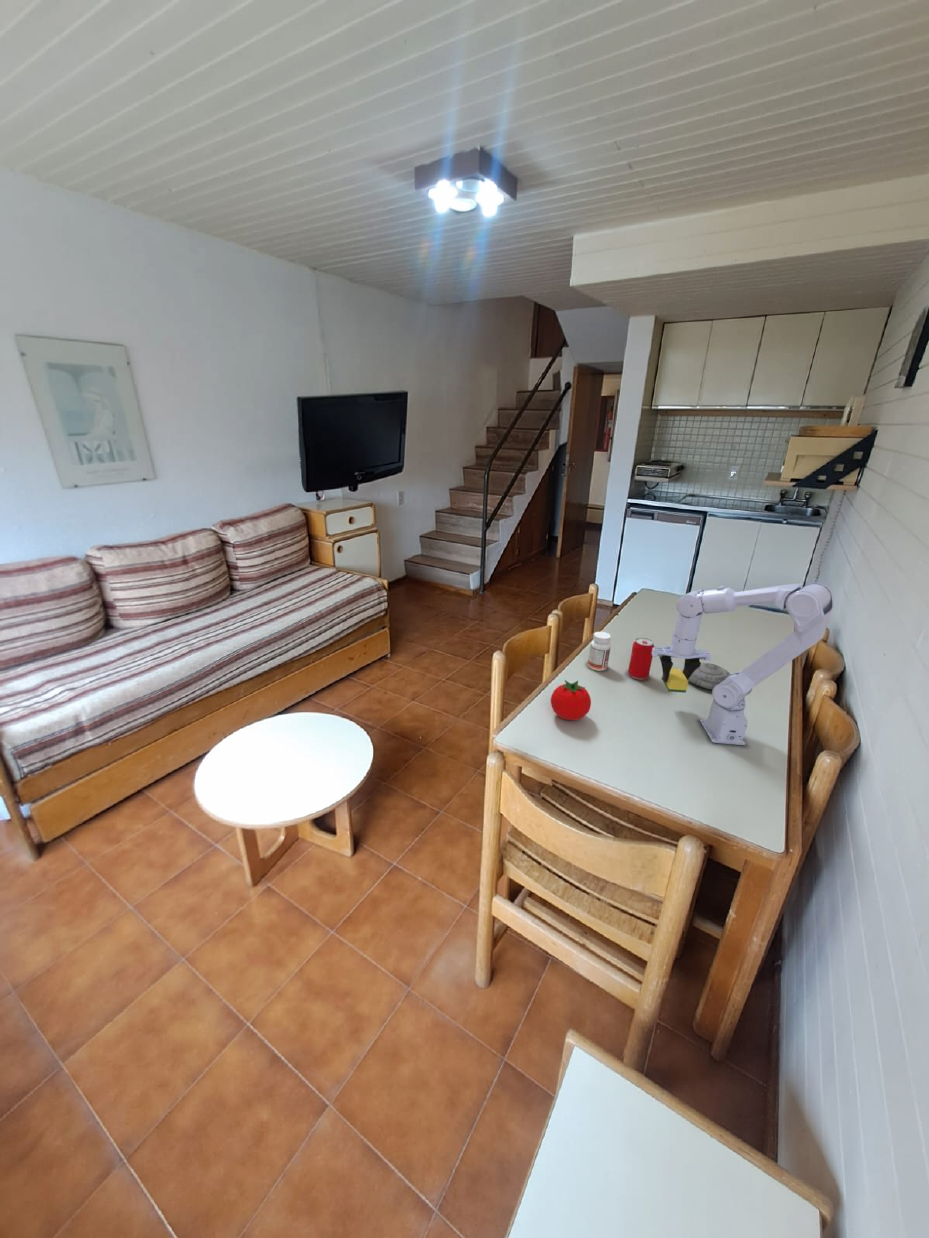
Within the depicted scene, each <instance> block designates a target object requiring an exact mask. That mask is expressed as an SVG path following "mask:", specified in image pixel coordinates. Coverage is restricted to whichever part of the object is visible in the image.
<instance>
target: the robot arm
mask: <svg viewBox="0 0 929 1238" xmlns="http://www.w3.org/2000/svg"><path fill="white" fill-rule="evenodd" d="M801 586H802V587H801ZM767 604H768V605H769V604H773V605H774V606H776V607H777V608H778V609H780V610H781V611H784V610H787V613H788V614H789V616H790V618H791V620H792V622H793V629H794V631H793V632H792V633H790V634H789V635H788V636H787V637H785V638H784V639H783V640H782V641H780V642H778V643H777V644H776V645H775V646H773V647H771V649H769V650H768V651H766V652H765V653H764V654H762V655H761V656H760V657H758V658H757V659H756V660H754V661H752V663H751V664H749V665H748V666H747V667H745V668H743V669H742V670H740V671H738V672H733V673H730V675H729V676H728V677H727V678H726V679H725V680H724V681H722V682H721V683H720V684H718V685H716V686H715V687H714V688H713V690H711V696H712V702H711V705H710V706H711V707H710V709H709V712H708V717H707V719H700V721H699V722H700V725H701V726H702V727H703V729H704V731H705V732H706V734H707V736H708V738H709V739H710V741H711V742H712V743H714V744H725V745H726V744H727V745H736V746H737V745H738V746H746V742H745V741H744V738H745V734H746V730H747V727H748V720H747V718H746V715H745V708H746V704H747V703H746V699H745V698H746V697H747V696H748V695H750V694H751V693H752V691H753V689H754V688H755V687H756V686H758V685H759V684H760V683H762V682H763V681H765V680H766V679H767V678H769V677H771V676H772V675H773V674H775V673H776V672H777V671H779V670H780V669H782V668H783V667H785V666H786V665H787V664H789V663H790V662H792V661H793V660H794V659H797V658H798V657H799V656H800V655H802V654H803V653H805V652H806V651H807V650H809V649H810V648H811V647H813V646H814V645H816V644H817V643H819V641H821V639H823V638H824V637H825V633H826V631H827V627H828V625H829V624H828V623H829V621H830V616H831V613H832V612H833V610H834V607H835V605H834V596H833V593H832V591H831V589H830V588H829V586H828V585H825V584H823V583H821V582H810V583H806V584H805V583H799V582H798V583H797V582H796V583H789V584H779V585H774V586H766V587H761V588H755V589H748V590H741V591H736V590H735V589H733V588H731V587H725V585H719V586H717V587H716V589H709V590H707V589H706V590H705V589H703V588H700V589H698V590H692V591H690V592H688V593H685V594H683V595H681V596H680V597H679V598H678V599H677V601H676V604H675V606H676V611H677V617H676V620H675V624H674V630H673V634H672V639H671V643H670V646H662V647H660V646H659V647H654V648H653V649H652V656H653V657H652V658H658V657H659V660H660V663H661V670H662V673H663V680H664V682H667V681H668V678H669V673H670V670H671V668H673V665H674V661H672V658H677V659H683V660H684V665H683V669H684V670H683V669H682V671H683V674H684V675H685V677H686V678H687V680H688V679H689V678H690V676H691V675H692V674H693V672H694V671H695V670H696V669H697V668H699V667H700V665H701V663H702V662H701V661H700V660H704V661H706V662H709V661H710V659H711V656H712V654H711V653H710V652H709V651H708V650H701V649H696V648H695V647H696V643H697V639H698V634H699V632H700V631H699V630H700V626H701V621H702V617H703V614H707V615H708V614H717V613H728V612H734V611H735V610H736V608H737V607H738V606H749V605H752V606H753V605H767ZM688 681H689V680H688ZM664 682H663V683H664Z"/></svg>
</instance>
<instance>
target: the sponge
mask: <svg viewBox="0 0 929 1238" xmlns="http://www.w3.org/2000/svg"><path fill="white" fill-rule="evenodd" d="M682 671H683V670H681V668H675V667H672V668H671V670H670V673H669V678H668V681H667V682H664V680H663V672H662V673H661V678H660V679H661V681H662V682H663V684H664V686H665V687H666V690H667V691H668V692H671V693H685V694H686V693H687V690H688V685H689V680H687V678H686V677H685V675H684V674H683V672H682Z"/></svg>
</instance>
